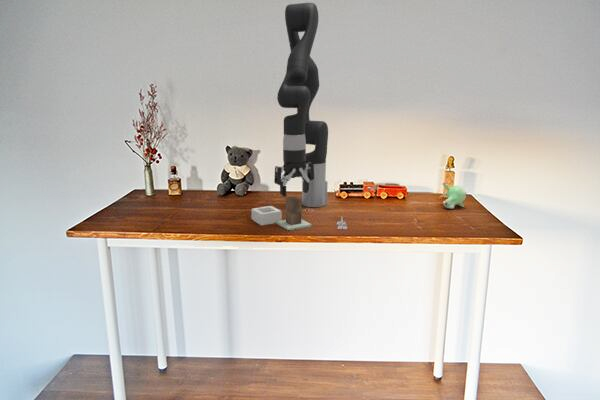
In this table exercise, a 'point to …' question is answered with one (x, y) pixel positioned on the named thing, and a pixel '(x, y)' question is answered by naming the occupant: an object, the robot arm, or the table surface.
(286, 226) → the green mat
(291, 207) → the walnut block
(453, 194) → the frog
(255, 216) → the pocket holder
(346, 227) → the grey eared piece
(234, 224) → the table surface
